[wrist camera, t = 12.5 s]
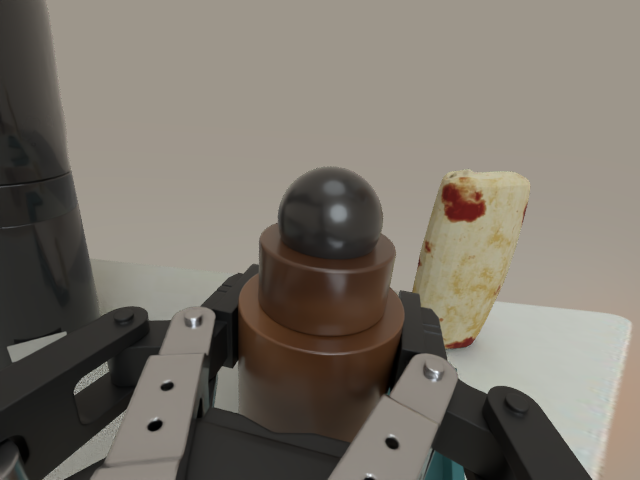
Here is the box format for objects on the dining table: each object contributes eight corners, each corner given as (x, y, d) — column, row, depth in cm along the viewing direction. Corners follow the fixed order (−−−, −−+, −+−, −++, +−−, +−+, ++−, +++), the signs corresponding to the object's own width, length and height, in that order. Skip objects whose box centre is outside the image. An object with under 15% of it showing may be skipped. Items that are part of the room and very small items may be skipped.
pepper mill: (205, 542, 13) (178, 168, 7) (270, 421, 18) (282, 145, 12) (349, 612, 11) (444, 212, 6) (376, 459, 16) (441, 166, 11)
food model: (415, 362, 36) (462, 173, 28) (391, 323, 42) (424, 159, 34) (496, 356, 38) (561, 178, 30) (462, 319, 44) (509, 164, 36)
